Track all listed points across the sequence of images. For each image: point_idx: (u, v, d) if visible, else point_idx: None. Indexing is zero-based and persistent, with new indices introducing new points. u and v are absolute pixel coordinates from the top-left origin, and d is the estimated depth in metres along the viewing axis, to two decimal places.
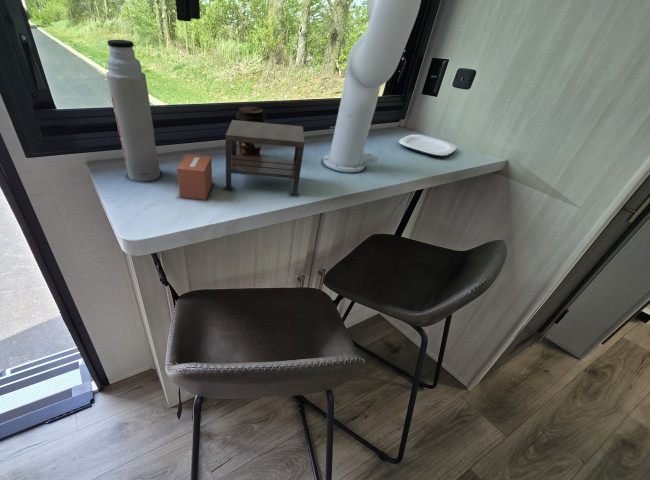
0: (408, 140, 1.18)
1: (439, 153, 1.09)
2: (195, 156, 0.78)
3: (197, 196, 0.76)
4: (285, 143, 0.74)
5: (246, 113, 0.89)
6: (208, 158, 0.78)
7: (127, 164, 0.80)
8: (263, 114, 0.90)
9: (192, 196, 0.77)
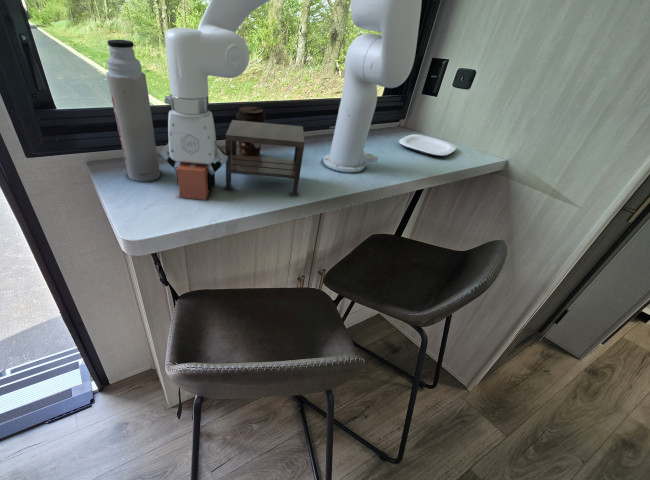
0: (408, 140, 1.18)
1: (439, 153, 1.09)
2: None
3: (197, 196, 0.76)
4: (285, 143, 0.74)
5: (246, 113, 0.89)
6: None
7: (127, 164, 0.80)
8: (263, 114, 0.90)
9: (192, 196, 0.77)
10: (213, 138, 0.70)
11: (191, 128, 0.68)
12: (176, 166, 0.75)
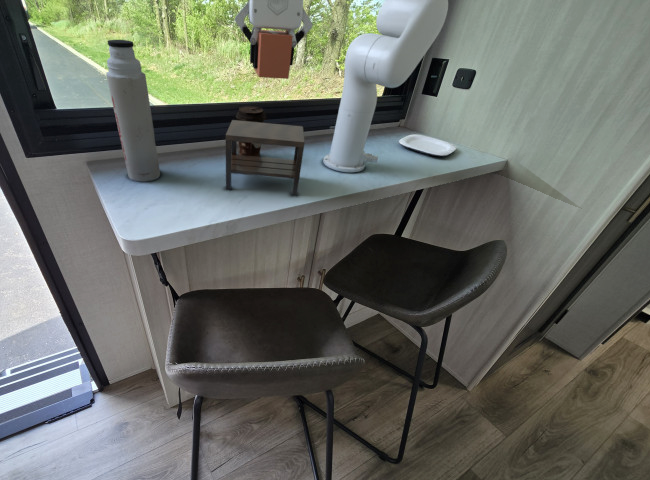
0: (408, 140, 1.18)
1: (439, 153, 1.09)
2: (268, 30, 0.67)
3: (279, 73, 0.66)
4: (285, 143, 0.74)
5: (246, 113, 0.89)
6: (283, 31, 0.67)
7: (127, 164, 0.80)
8: (263, 114, 0.90)
9: (273, 74, 0.66)
10: None
11: None
12: (253, 37, 0.64)
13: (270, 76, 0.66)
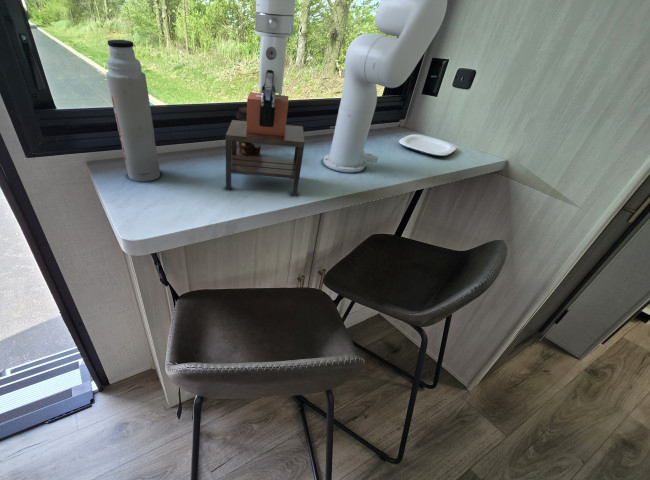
0: (408, 140, 1.18)
1: (439, 153, 1.09)
2: (253, 96, 0.72)
3: None
4: (285, 143, 0.74)
5: (246, 113, 0.89)
6: (256, 93, 0.75)
7: (127, 164, 0.80)
8: None
9: None
10: None
11: None
12: None
13: None
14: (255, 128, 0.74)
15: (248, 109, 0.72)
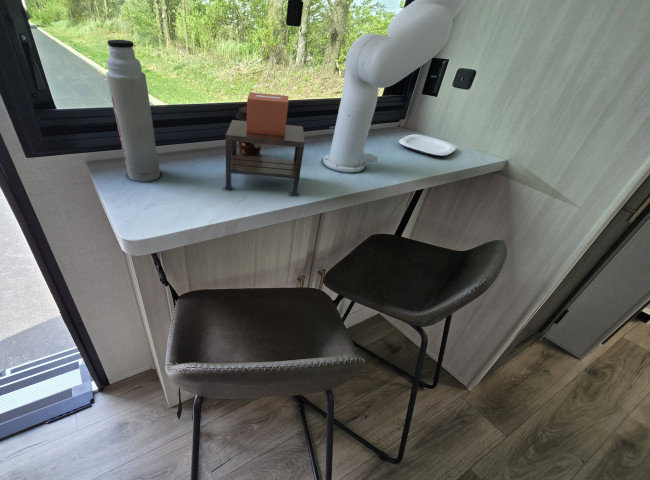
0: (408, 140, 1.18)
1: (439, 153, 1.09)
2: (253, 96, 0.72)
3: None
4: (285, 143, 0.74)
5: (246, 113, 0.89)
6: (256, 93, 0.75)
7: (127, 164, 0.80)
8: None
9: None
10: None
11: None
12: None
13: None
14: (255, 128, 0.74)
15: (248, 109, 0.72)
